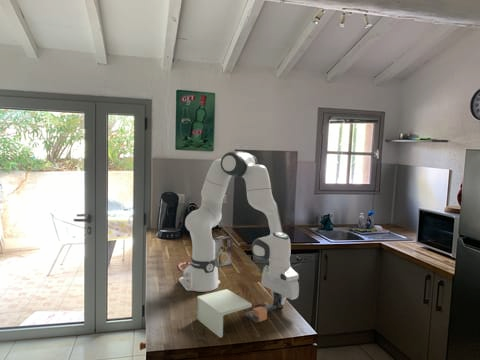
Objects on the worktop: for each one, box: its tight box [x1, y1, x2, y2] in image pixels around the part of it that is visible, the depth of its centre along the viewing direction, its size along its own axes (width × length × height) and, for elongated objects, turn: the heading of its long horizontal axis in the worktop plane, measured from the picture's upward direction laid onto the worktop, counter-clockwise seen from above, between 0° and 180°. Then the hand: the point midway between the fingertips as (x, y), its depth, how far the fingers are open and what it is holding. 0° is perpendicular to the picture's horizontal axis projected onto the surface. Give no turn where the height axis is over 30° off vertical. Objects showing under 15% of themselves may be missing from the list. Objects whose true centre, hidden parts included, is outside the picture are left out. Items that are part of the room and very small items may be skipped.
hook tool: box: [244, 292, 284, 324], centre depth 148 cm, size 8×18×6 cm, turn 125°
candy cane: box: [177, 261, 191, 273], centre depth 203 cm, size 8×1×15 cm
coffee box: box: [212, 235, 232, 268], centre depth 210 cm, size 9×6×16 cm
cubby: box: [196, 288, 253, 339], centre depth 139 cm, size 17×14×9 cm
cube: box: [252, 305, 268, 323], centre depth 143 cm, size 4×4×4 cm
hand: (278, 302), depth 154 cm, fingers closed on hook tool, 3 cm apart
